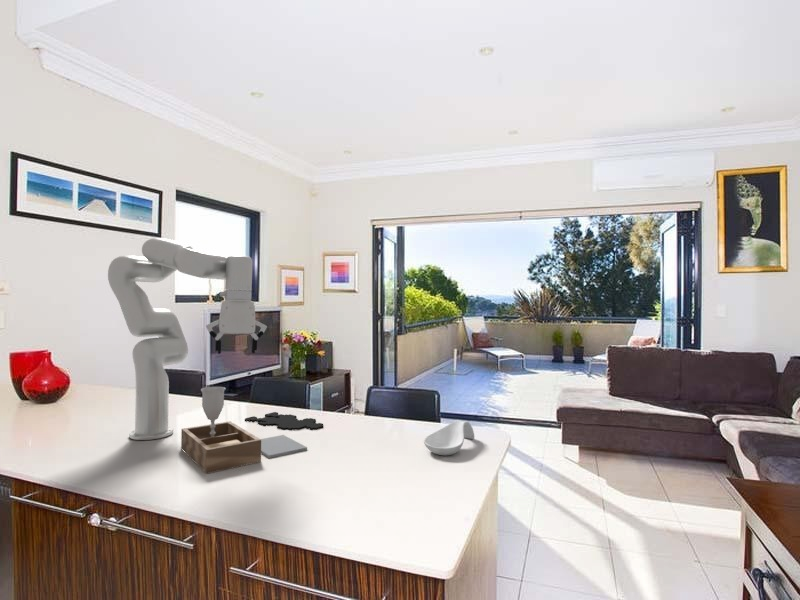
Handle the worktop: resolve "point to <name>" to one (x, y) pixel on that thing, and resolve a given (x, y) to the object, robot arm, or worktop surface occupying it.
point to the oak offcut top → (223, 443)
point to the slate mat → (280, 446)
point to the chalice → (212, 404)
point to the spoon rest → (449, 438)
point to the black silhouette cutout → (286, 422)
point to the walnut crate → (222, 456)
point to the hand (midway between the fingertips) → (236, 353)
